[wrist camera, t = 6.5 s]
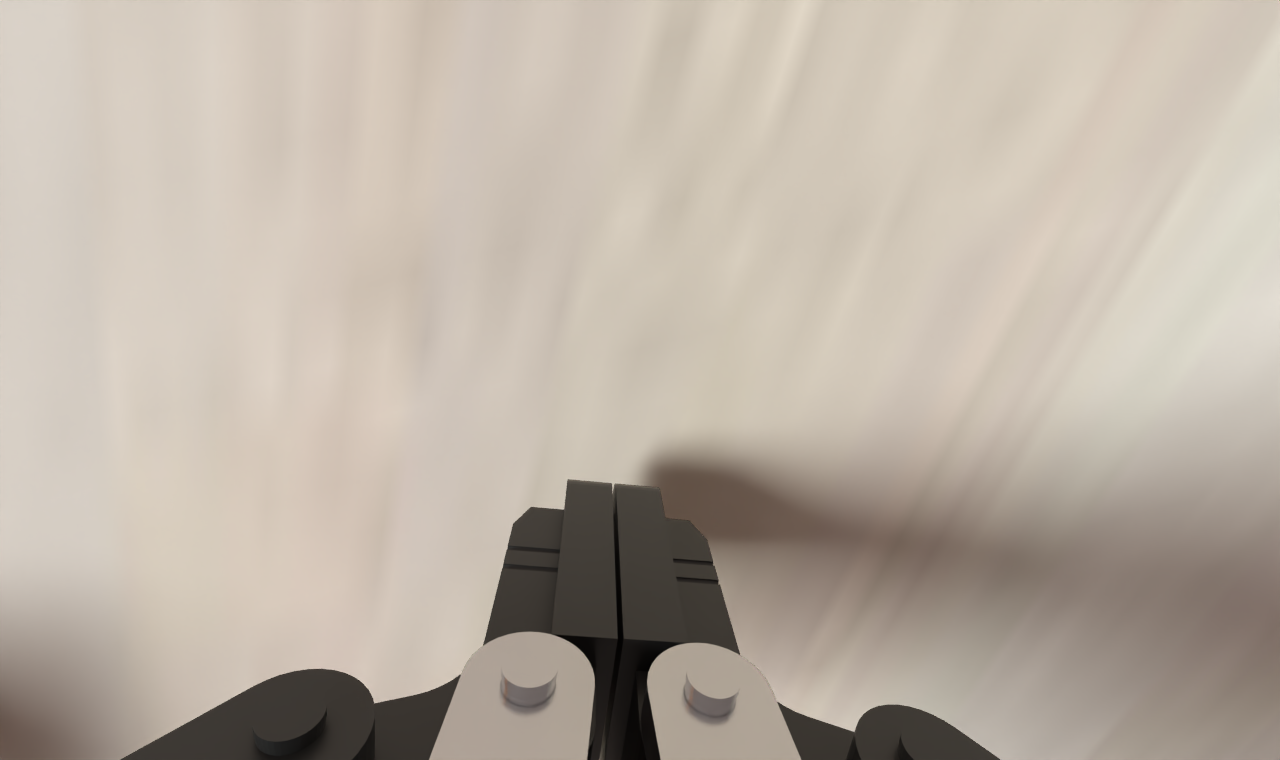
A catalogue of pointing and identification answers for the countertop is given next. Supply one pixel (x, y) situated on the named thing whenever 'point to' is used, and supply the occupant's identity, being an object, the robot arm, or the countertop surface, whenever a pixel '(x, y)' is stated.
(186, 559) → the countertop surface
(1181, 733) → the countertop surface
